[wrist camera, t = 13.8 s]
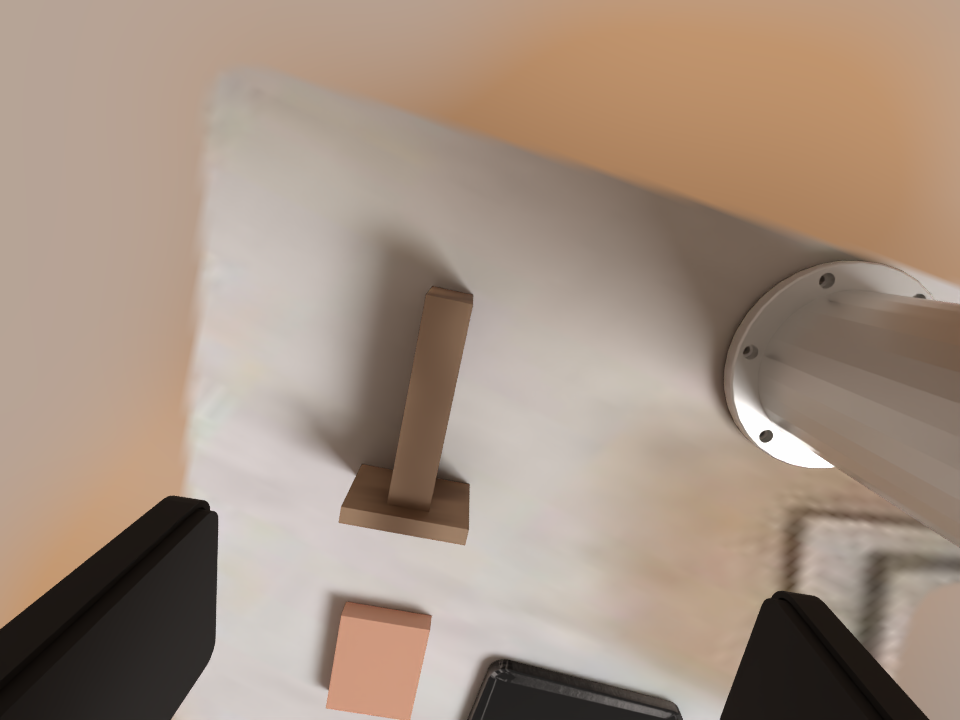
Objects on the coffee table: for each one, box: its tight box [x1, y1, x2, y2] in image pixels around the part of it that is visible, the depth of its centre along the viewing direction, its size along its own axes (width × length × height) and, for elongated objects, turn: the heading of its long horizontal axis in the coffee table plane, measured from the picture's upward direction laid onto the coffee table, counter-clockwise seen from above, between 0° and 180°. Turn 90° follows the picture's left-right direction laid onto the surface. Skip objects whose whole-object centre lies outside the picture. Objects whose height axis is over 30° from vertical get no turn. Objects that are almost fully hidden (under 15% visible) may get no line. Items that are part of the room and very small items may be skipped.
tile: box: [326, 602, 432, 720], centre depth 34 cm, size 6×2×8 cm
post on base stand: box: [339, 286, 473, 545], centre depth 27 cm, size 7×13×5 cm, turn 168°
